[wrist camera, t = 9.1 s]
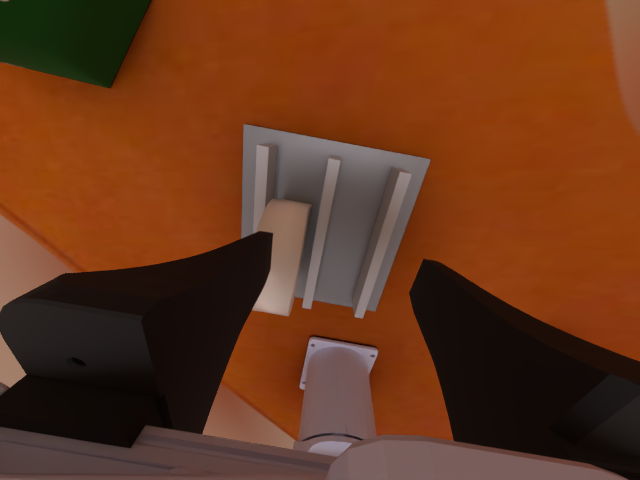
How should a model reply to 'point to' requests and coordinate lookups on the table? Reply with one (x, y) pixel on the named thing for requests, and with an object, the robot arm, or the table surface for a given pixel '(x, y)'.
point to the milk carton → (69, 36)
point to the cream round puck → (283, 253)
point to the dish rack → (334, 209)
